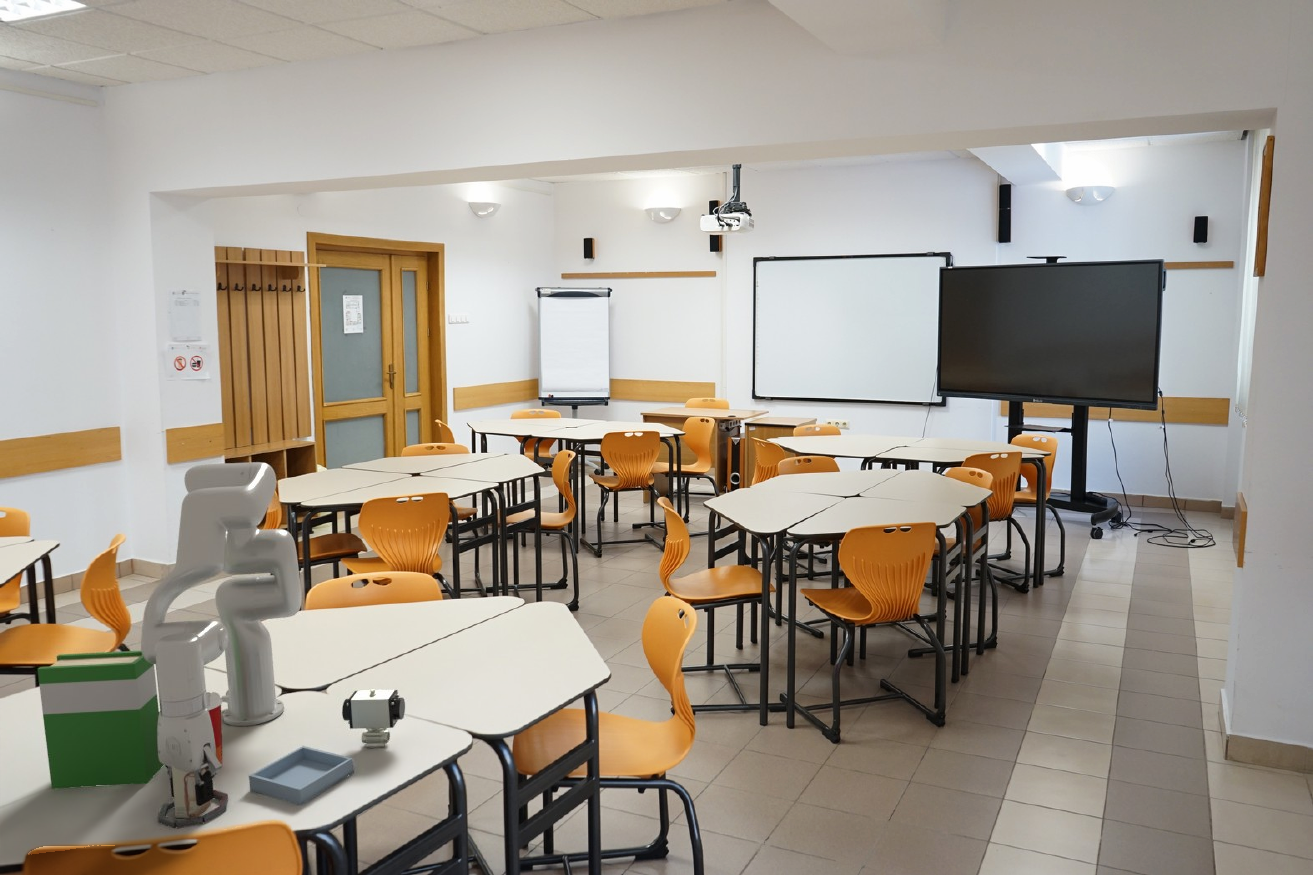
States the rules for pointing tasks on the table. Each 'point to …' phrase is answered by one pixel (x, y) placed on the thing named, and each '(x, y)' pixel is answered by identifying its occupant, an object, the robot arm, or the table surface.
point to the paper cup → (216, 721)
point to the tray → (301, 775)
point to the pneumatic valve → (374, 714)
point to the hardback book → (100, 719)
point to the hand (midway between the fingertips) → (192, 797)
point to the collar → (195, 820)
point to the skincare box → (186, 794)
